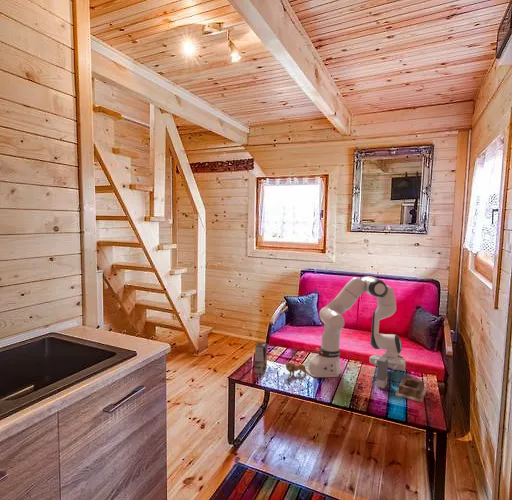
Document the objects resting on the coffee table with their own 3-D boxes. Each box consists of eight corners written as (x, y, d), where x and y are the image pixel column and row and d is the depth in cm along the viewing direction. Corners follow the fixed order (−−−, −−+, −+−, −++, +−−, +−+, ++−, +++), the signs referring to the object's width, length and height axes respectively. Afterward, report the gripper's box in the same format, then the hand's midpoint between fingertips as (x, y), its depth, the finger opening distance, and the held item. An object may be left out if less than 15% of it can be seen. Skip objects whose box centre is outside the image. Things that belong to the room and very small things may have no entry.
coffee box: (264, 374, 199) (265, 347, 198) (254, 372, 200) (254, 346, 200) (267, 368, 208) (267, 343, 207) (257, 367, 209) (257, 342, 209)
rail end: (376, 386, 186) (377, 360, 186) (379, 381, 192) (380, 356, 192) (384, 388, 184) (385, 362, 183) (387, 383, 190) (388, 358, 189)
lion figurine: (288, 379, 193) (288, 364, 192) (283, 375, 197) (284, 361, 197) (308, 375, 199) (309, 360, 199) (303, 371, 204) (304, 357, 203)
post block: (395, 394, 176) (395, 385, 176) (401, 384, 190) (401, 375, 189) (422, 402, 169) (422, 392, 169) (426, 390, 182) (426, 381, 182)
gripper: (372, 350, 209) (366, 357, 198) (407, 358, 198) (403, 365, 186) (372, 360, 209) (366, 367, 198) (407, 368, 198) (402, 376, 186)
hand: (384, 366), depth 192 cm, fingers open, 8 cm apart
